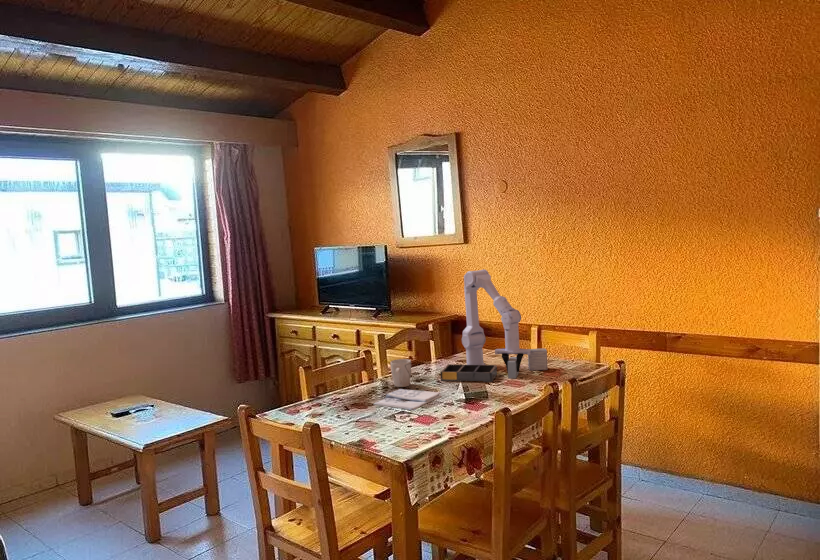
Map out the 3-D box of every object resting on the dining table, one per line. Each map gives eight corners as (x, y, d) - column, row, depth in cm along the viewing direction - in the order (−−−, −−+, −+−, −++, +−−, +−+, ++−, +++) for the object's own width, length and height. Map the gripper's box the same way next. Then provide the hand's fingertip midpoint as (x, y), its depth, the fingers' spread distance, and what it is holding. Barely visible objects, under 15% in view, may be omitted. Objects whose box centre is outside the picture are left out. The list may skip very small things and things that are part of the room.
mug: (408, 390, 243) (407, 365, 243) (387, 390, 245) (386, 365, 244) (414, 382, 255) (412, 358, 254) (394, 382, 256) (392, 359, 255)
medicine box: (546, 367, 267) (545, 348, 266) (547, 370, 263) (547, 350, 262) (528, 368, 268) (527, 348, 267) (529, 370, 263) (528, 350, 263)
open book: (442, 397, 232) (441, 392, 232) (412, 412, 216) (412, 406, 216) (401, 392, 243) (400, 386, 243) (369, 406, 227) (369, 400, 226)
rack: (448, 372, 267) (448, 364, 267) (496, 373, 261) (496, 365, 261) (440, 381, 254) (440, 372, 254) (491, 382, 248) (491, 373, 248)
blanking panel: (511, 373, 261) (510, 357, 261) (518, 373, 260) (518, 357, 260) (508, 378, 253) (507, 361, 252) (516, 378, 252) (515, 362, 251)
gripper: (493, 341, 253) (494, 373, 255) (528, 341, 249) (529, 373, 250) (495, 337, 260) (497, 369, 261) (530, 337, 256) (531, 369, 257)
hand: (513, 371), depth 256 cm, fingers open, 3 cm apart
